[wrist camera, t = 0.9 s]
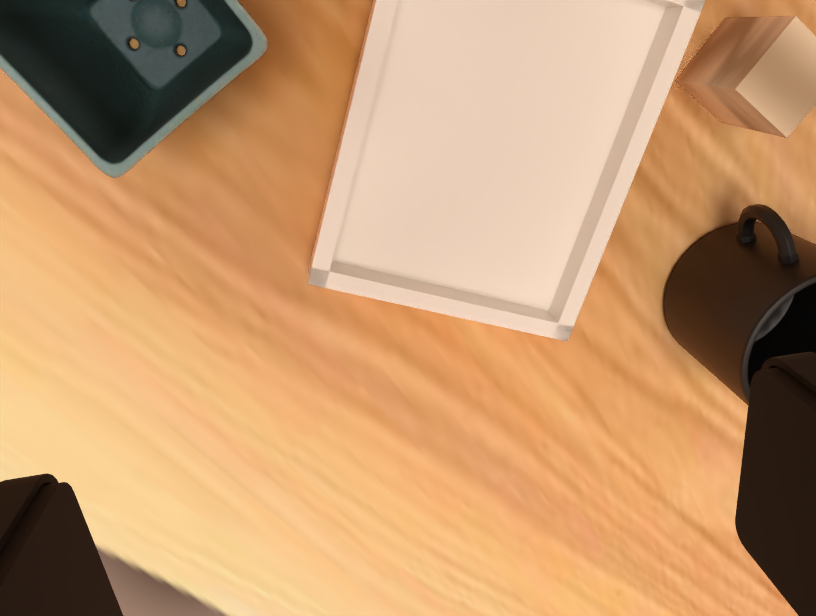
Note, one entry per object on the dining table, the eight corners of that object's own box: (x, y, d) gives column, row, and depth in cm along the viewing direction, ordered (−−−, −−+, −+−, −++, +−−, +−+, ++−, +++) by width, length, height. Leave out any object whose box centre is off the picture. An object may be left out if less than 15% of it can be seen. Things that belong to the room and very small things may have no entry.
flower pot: (286, 41, 34) (274, 45, 26) (161, 148, 36) (112, 184, 27) (160, -120, 31) (101, -174, 23) (27, 4, 32) (-74, -4, 24)
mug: (788, 158, 40) (909, 193, 32) (806, 326, 45) (915, 393, 37) (640, 214, 40) (722, 262, 32) (674, 374, 45) (753, 452, 37)
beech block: (724, 17, 36) (795, 16, 31) (770, 63, 38) (847, 69, 32) (674, 80, 37) (735, 89, 32) (721, 122, 39) (787, 138, 33)
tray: (399, -108, 32) (405, -119, 30) (684, -7, 36) (709, -9, 33) (308, 269, 39) (307, 283, 37) (554, 324, 42) (567, 341, 40)
